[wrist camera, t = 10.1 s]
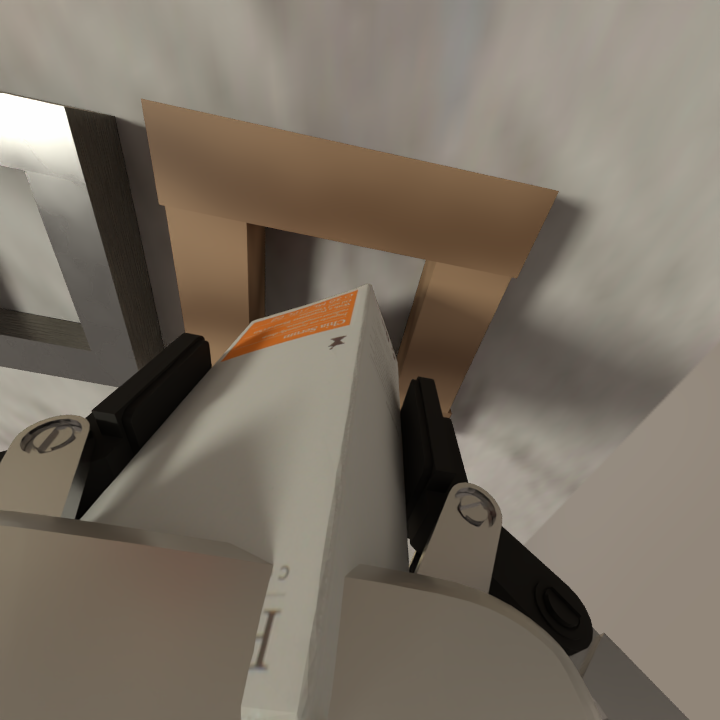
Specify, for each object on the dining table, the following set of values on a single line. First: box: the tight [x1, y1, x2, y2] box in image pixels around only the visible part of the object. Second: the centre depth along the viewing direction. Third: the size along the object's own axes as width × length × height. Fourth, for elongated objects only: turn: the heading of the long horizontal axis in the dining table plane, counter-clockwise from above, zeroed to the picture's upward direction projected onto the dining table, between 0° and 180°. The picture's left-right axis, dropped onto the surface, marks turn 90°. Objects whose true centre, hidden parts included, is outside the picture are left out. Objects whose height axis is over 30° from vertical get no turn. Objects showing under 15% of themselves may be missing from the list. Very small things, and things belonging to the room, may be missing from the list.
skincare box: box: [80, 284, 409, 720], centre depth 9 cm, size 6×4×12 cm
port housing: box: [141, 99, 559, 418], centre depth 16 cm, size 16×16×3 cm
